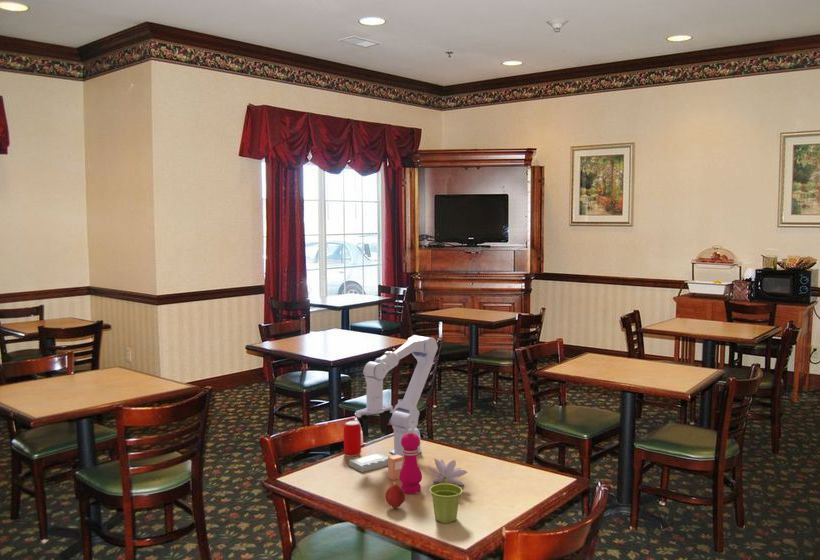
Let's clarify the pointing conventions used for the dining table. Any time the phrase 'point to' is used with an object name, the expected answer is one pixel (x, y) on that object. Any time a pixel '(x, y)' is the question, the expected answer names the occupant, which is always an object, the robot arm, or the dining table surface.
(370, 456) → the pad
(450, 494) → the plant pot
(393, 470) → the stub tab
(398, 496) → the onion
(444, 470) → the water lily
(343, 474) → the dining table surface
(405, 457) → the pepper mill
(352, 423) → the beverage can
